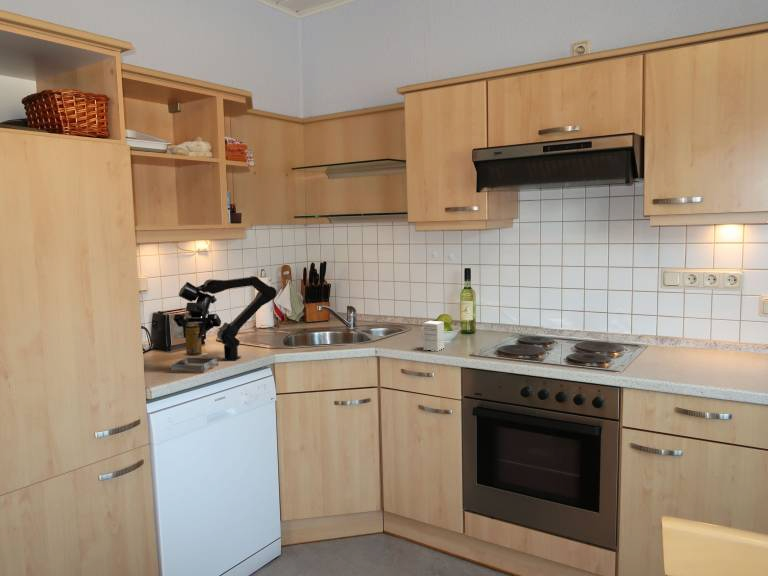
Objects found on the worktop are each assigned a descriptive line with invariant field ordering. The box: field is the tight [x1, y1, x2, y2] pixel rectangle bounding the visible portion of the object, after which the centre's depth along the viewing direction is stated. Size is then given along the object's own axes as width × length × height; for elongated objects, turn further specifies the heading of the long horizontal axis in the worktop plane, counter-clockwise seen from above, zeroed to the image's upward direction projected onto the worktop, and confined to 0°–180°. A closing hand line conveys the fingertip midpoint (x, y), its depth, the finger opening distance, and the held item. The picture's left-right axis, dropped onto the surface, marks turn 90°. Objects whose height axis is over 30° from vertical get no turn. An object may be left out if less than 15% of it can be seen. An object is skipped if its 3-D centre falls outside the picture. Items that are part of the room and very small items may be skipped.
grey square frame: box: [169, 356, 219, 374], centre depth 255 cm, size 14×14×3 cm
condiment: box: [182, 323, 209, 358], centre depth 253 cm, size 7×8×12 cm
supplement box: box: [422, 320, 445, 352], centre depth 281 cm, size 7×7×13 cm
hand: (191, 337), depth 252 cm, fingers closed on condiment, 6 cm apart
